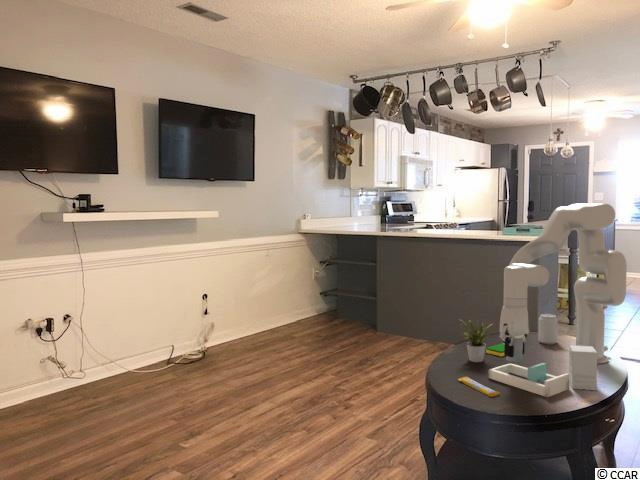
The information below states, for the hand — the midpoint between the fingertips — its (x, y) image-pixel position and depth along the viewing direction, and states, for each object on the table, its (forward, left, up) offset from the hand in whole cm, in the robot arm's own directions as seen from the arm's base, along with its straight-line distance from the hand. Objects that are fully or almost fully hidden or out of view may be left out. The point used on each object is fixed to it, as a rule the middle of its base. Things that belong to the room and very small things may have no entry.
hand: (514, 354), depth 176 cm
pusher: (0, +11, -9) cm, 14 cm away
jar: (0, 0, -2) cm, 2 cm away
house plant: (-6, -23, -9) cm, 25 cm away
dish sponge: (-25, -23, -9) cm, 35 cm away
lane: (0, +5, -9) cm, 10 cm away
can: (-51, -20, -9) cm, 56 cm away
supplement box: (-12, +17, -9) cm, 23 cm away
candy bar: (+16, -2, -9) cm, 19 cm away
